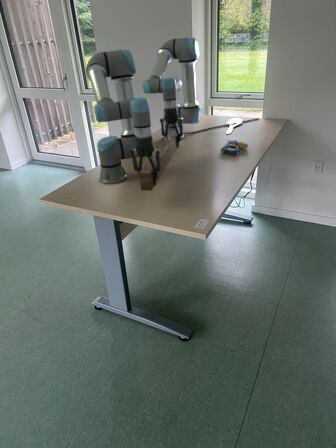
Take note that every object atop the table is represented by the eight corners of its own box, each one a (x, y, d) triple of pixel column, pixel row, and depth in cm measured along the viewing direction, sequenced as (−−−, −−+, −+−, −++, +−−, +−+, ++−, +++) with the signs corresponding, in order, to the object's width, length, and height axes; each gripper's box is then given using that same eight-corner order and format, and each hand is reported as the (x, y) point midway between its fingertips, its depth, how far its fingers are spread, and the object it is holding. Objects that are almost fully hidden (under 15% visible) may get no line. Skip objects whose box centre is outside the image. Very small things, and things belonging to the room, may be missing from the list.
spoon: (235, 136, 245) (235, 133, 244) (220, 135, 249) (220, 132, 248) (243, 120, 272) (243, 117, 270) (230, 120, 275) (230, 117, 274)
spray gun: (250, 145, 220) (228, 144, 226) (250, 139, 217) (228, 138, 224) (241, 157, 204) (218, 155, 211) (242, 150, 202) (218, 149, 208)
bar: (171, 145, 207) (170, 131, 202) (179, 145, 206) (178, 131, 201) (141, 190, 154) (138, 172, 150) (151, 190, 153) (149, 173, 148)
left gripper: (121, 138, 144) (128, 187, 157) (161, 138, 140) (166, 188, 152) (126, 133, 150) (133, 180, 163) (165, 133, 146) (169, 181, 159)
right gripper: (153, 109, 188) (157, 149, 201) (185, 108, 184) (187, 149, 197) (156, 106, 195) (160, 144, 207) (187, 105, 190) (189, 144, 203)
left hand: (149, 184), depth 158 cm, fingers closed on bar, 5 cm apart
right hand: (173, 146), depth 202 cm, fingers closed on bar, 5 cm apart
